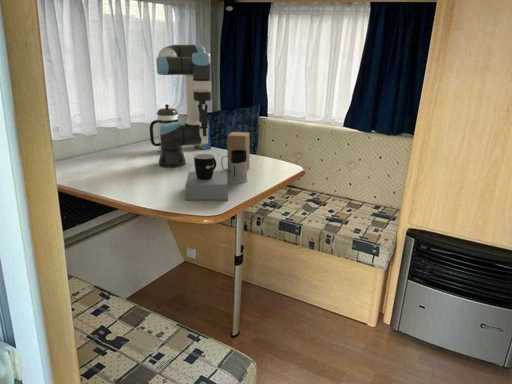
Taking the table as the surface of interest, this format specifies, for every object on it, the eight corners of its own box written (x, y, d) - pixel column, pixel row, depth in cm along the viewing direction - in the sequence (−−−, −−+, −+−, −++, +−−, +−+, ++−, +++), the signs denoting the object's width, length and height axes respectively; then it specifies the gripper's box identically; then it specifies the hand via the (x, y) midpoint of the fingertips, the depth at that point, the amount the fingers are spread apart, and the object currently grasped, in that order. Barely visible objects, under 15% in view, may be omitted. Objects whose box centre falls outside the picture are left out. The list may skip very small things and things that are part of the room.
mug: (205, 182, 182) (204, 159, 179) (190, 178, 187) (189, 156, 184) (223, 176, 191) (222, 154, 188) (208, 172, 196) (208, 151, 193)
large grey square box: (189, 187, 200) (188, 171, 197) (227, 186, 201) (227, 171, 199) (185, 202, 181) (184, 185, 178) (228, 201, 182) (228, 184, 179)
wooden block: (245, 173, 222) (245, 136, 215) (227, 171, 224) (227, 135, 217) (249, 168, 231) (249, 132, 225) (232, 166, 233) (231, 131, 227)
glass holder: (250, 181, 208) (251, 152, 203) (225, 185, 201) (225, 155, 196) (242, 176, 215) (242, 148, 210) (217, 181, 208) (217, 152, 203)
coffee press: (161, 148, 273) (157, 102, 263) (184, 149, 271) (182, 103, 261) (151, 154, 257) (147, 106, 247) (176, 156, 255) (173, 106, 245)
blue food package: (202, 150, 270) (201, 111, 261) (194, 146, 279) (192, 109, 271) (211, 149, 273) (210, 110, 265) (202, 145, 282) (200, 108, 274)
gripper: (192, 88, 187) (194, 134, 194) (194, 94, 164) (196, 146, 171) (208, 87, 188) (210, 134, 196) (213, 94, 165) (214, 146, 173)
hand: (203, 140), depth 183 cm, fingers open, 13 cm apart
